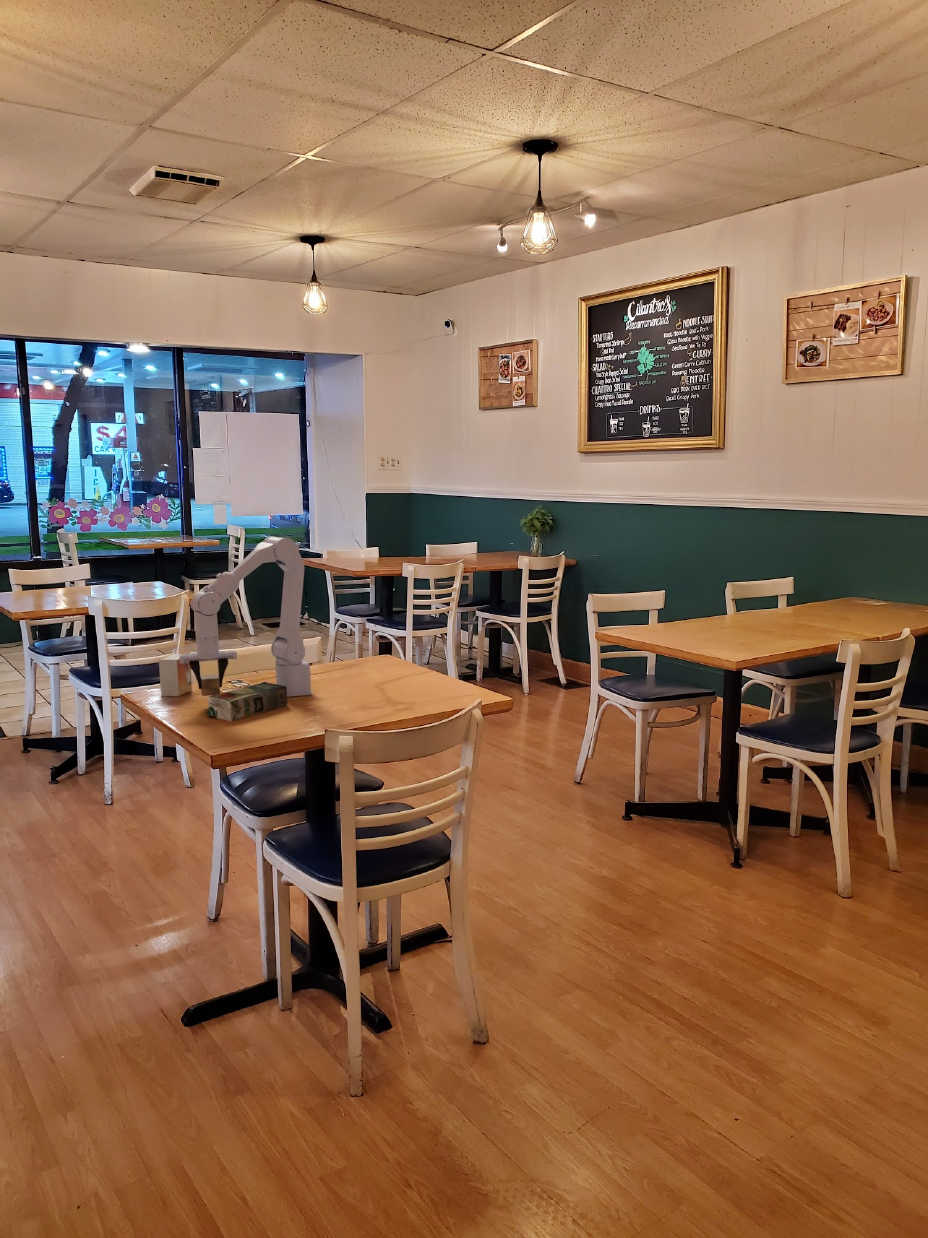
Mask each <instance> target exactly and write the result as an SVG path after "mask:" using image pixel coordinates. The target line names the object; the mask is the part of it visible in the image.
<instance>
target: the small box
mask: <svg viewBox="0 0 928 1238" xmlns="http://www.w3.org/2000/svg"><path fill="white" fill-rule="evenodd" d="M179 655H185V654H182V653H181V654H179V653H177V654H176V653H173V654H170V655H168V656H166V657H163V658H160V659H158V664H159V665H158V666H159V669H158V670H159V680H160V681H159V682H160V683H159V684H160V685H159V686H160V696H161V697H181V696H182V695H184V694H186V693H188V692H191V691H193V684H192V683H193V682H192V681H193V680H192V669H191V667H190V664H189V662H187V663H182V664H180V656H179Z"/></svg>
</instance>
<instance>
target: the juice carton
mask: <svg viewBox="0 0 928 1238" xmlns="http://www.w3.org/2000/svg"><path fill="white" fill-rule="evenodd" d="M286 690H287V687H286V686H283V685H278V684H276V683H270V682H267V681H263V682H260V683H257V684H253V685H249V686H244V687H240V688H237V689H233V690H231V689H230V690H228V691H225V692H220V694H216V695H210V696H207V705H208V707H207V709H206V715H207V717H214V718H217V719H219V720H224V721H227V722H234V721H238V720H243V719H245V718H247V717H253V716H257V715H259V714H263V713H267V712H269V711H273V710H277V709H282V708H285V707H287V706H288V697H287V692H286Z"/></svg>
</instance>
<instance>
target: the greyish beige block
mask: <svg viewBox="0 0 928 1238" xmlns="http://www.w3.org/2000/svg"><path fill="white" fill-rule="evenodd" d="M200 678H201V684H202V689H200V690H201V691H200V692H201V696H202V697H206V696H207V697H208V696H212V695H216V694H220V693H221V687H220V684H219V673H217V674H207V675H205V674H204V675H200Z"/></svg>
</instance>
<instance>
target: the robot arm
mask: <svg viewBox="0 0 928 1238" xmlns="http://www.w3.org/2000/svg"><path fill="white" fill-rule="evenodd" d="M264 563H275V564H277V565H278V566H279V568H280V569H281V570H282V571H283V573H284V574H283V584H282V594H281V595H282V597H281V606H280V607H281V608H280V609H281V610H280V618H279V619H280V620H279V621H280V622H279V628H278V629H277V630H276V631H275V633H274V635H275V636H274V639H273V641H272V643H271V644H270V645H271V646H270V651H271V654H272V656H273V657H274V658H275V681H276V682H275V684H278V685H283V686H286V687H287V690H286V692H287V698H288V697H289V698H290V697H298V696H299V697H300V696H309V695H310V696H311V695H312V681H311V679H312V678H311V665H310V662H309V661H303V659H304V658H305V657H306V647H305V645H304V636H303V634H302V632H301V630H300V625H301V623H300V622H301V616H302V615H301V612H302V601H303V591H304V590H303V589H304V578H305V563H304V561H303V558H302V555H301V554H300V547H299V545H298V544H297V543H296V542H295V541H293V540H292V539H291V538H288V537H279V536H278V537H277V536H273V535H272V536H271V535H270V536H267V537H266V538H264V540H263V541H261V542H259V543H258V544H257V545H256V546H255V547H254V549H253V550H251V552H250V553H249V554H248V555H247V556H246V557H244V559H242V561H240V563H238V565H236V567H234V568H233V569H232V570H231V571H224V572H222V573H220V572H219V573H218V574H217V575H216V578H215V579H214V580H213V581H212V582H211V583H209V584H208V585H205V586H204V587H202V589H203V591H197V592H196V593H194V594H193V596H192V599H191V601H190V602H189V605H190V608H191V609H192V610H193V612H194V628H195V629H194V630H195V642H196V643H195V644H196V646H195V647H196V652H195V653H187V654H184V655H179V656H180V664H182V663H187V662H189V664H190V667H191V671H192V673H193V674H194V676H195V679H196V682H197V685H198V690H201V689H202V684H201V664H200V663H201V662H210V661H212V662H214V661H217V668H218V676H219V684H220V688H222V687H223V680H224V676H225V673H226V670H227V668H228V665H229V660H237V659H238V652H237V651H236V650H220V643H219V627H218V612H219V611H220V609H221V605H222V604H223V603H224V601H226V600H227V599H228V598H229V597H231V596H232V594H234V593H235V592H236V591H237V590H238V589H239V588H240V583H241V581H242V580H243V579H245V578H246V577H247V576H249V575H250V574H251V573H252V572H254V570H256V569H257V568H258V567H259V566H261V565H262V564H264Z"/></svg>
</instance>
